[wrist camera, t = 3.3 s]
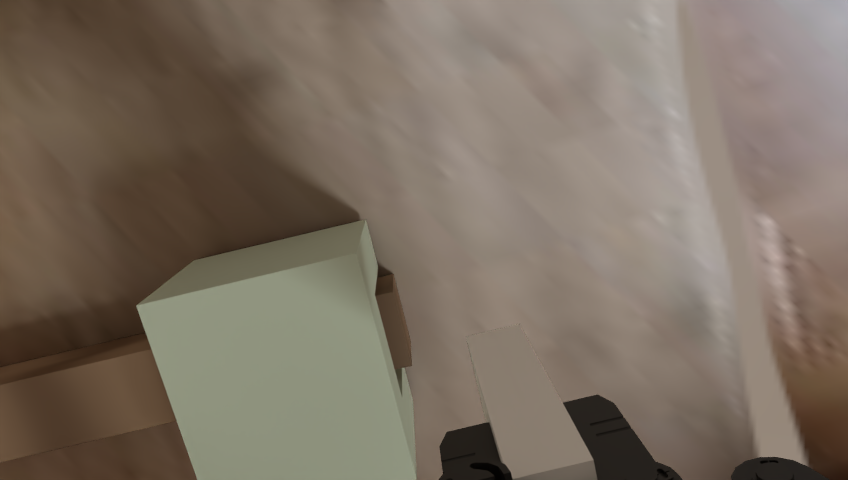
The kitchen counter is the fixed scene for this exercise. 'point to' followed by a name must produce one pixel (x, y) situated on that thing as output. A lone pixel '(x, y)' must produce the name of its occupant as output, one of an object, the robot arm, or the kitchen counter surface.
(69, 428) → the rail
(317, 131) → the kitchen counter surface
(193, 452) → the slider
